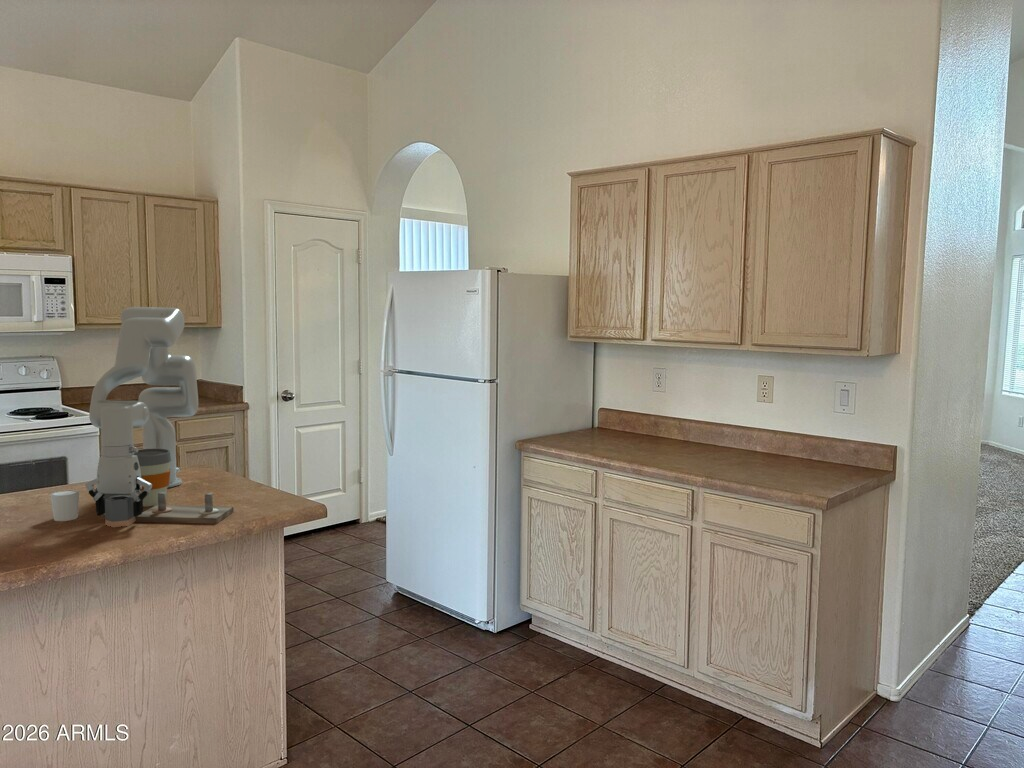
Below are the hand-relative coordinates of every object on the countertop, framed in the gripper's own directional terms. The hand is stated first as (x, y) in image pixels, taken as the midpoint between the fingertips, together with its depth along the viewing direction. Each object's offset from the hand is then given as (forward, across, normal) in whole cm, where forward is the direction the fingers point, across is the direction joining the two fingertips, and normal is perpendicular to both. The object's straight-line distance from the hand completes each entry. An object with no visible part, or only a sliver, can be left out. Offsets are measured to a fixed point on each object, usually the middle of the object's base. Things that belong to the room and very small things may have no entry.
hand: (119, 514), depth 203 cm
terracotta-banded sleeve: (+2, 0, 0) cm, 3 cm away
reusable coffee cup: (+2, +3, -22) cm, 23 cm away
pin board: (+2, -14, -8) cm, 16 cm away
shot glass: (+3, +17, -4) cm, 18 cm away
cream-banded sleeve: (+2, +9, -12) cm, 15 cm away
